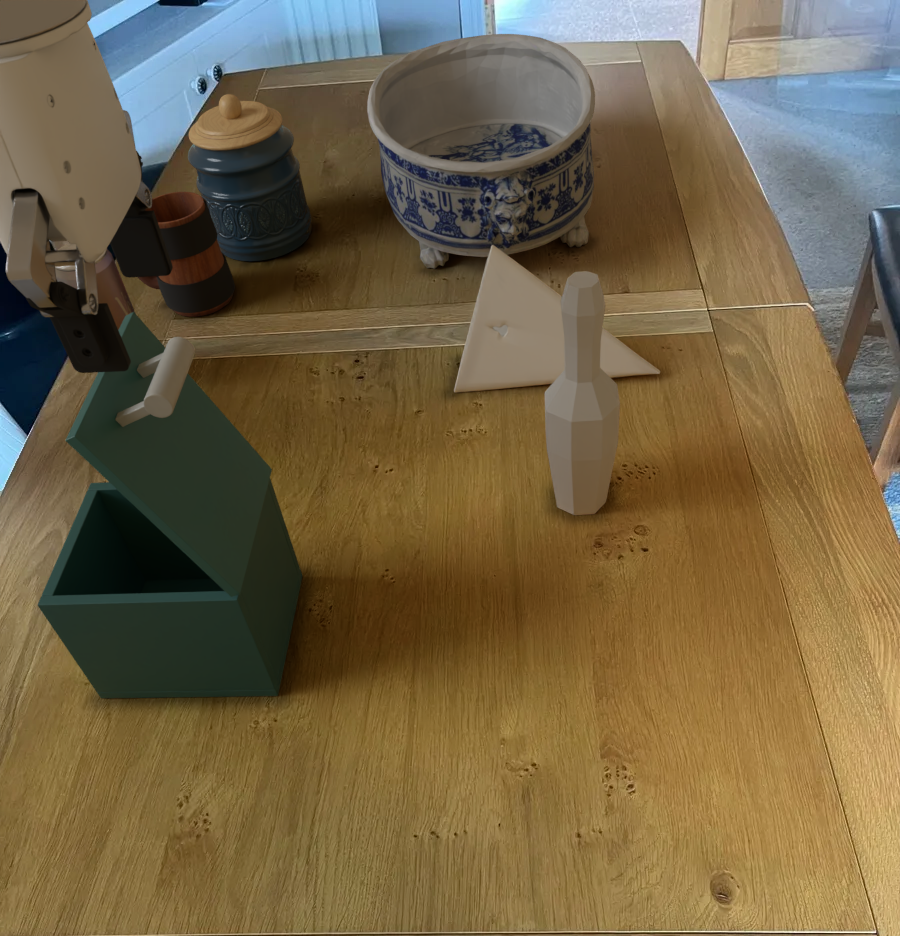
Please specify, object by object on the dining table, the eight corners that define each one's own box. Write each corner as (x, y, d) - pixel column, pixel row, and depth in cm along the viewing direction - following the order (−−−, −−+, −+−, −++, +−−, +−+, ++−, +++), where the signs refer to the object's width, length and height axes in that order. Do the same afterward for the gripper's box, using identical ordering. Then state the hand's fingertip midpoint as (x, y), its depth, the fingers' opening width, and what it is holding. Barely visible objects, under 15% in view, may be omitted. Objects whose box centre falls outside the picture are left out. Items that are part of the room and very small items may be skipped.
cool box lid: (64, 440, 55) (128, 411, 53) (124, 315, 63) (182, 286, 61) (231, 597, 65) (289, 577, 63) (264, 472, 73) (316, 451, 71)
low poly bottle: (606, 528, 82) (615, 308, 66) (537, 515, 84) (528, 298, 68) (623, 480, 86) (635, 260, 69) (556, 469, 88) (553, 252, 71)
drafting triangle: (679, 287, 96) (493, 235, 94) (688, 300, 90) (491, 245, 89) (629, 423, 103) (456, 376, 102) (635, 442, 98) (453, 393, 97)
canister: (288, 268, 117) (251, 122, 103) (198, 259, 120) (151, 117, 107) (329, 215, 124) (300, 73, 111) (243, 209, 128) (205, 70, 114)
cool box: (100, 698, 76) (36, 605, 67) (142, 580, 84) (90, 482, 75) (278, 696, 74) (237, 600, 65) (302, 575, 82) (269, 475, 73)
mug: (148, 285, 117) (113, 194, 108) (242, 277, 116) (214, 185, 107) (133, 324, 112) (95, 232, 103) (231, 316, 111) (201, 222, 102)
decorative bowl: (634, 277, 108) (641, 145, 96) (407, 318, 107) (387, 190, 95) (550, 125, 135) (548, 8, 124) (369, 156, 134) (350, 42, 123)
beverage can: (113, 362, 107) (58, 240, 96) (163, 359, 106) (114, 235, 95) (99, 395, 103) (40, 271, 92) (151, 392, 103) (98, 266, 91)
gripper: (-11, -59, 49) (108, 246, 62) (-168, 78, 38) (18, 414, 51) (128, -71, 48) (219, 240, 61) (9, 65, 37) (151, 409, 50)
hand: (127, 319), depth 56 cm, fingers open, 9 cm apart
